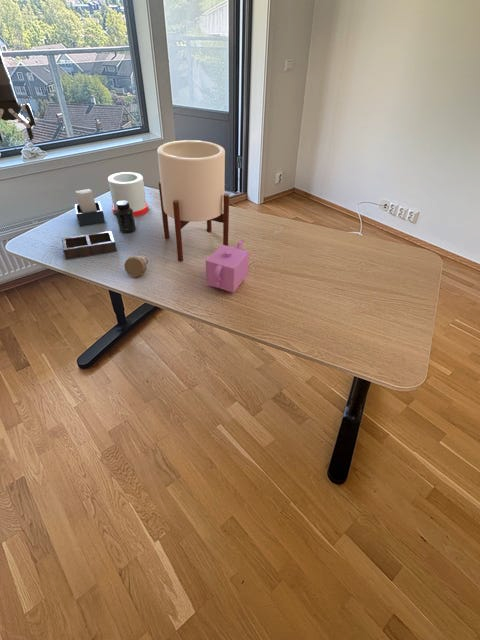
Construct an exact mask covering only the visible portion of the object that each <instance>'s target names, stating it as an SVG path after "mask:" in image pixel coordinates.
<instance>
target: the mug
mask: <svg viewBox="0 0 480 640" xmlns="http://www.w3.org/2000/svg"><path fill="white" fill-rule="evenodd" d="M148 264H149V259H148V257H147V256H145V255H132V256H130V257H128V258H127V259H126V260H125V262H124V264H123V265H124V266H123V267H124V270H125V272H126V274H127V275H129V276H130V277H133V278H138V277H141V276H143V275H144V274H145V272H146V270H147V265H148Z"/></svg>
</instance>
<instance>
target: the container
mask: <svg viewBox="0 0 480 640" xmlns="http://www.w3.org/2000/svg"><path fill="white" fill-rule="evenodd" d="M107 182H108V186H109V191H110V196H111V200H112V201H111V202H112V205H111V207H112V213H113V214H114V215H115V216H116V210H117V202H119V201H128V202H129V205H130V208H131V209H132V210H133V214H134V218H135V217H137V218H138V217H141V216H143V215H145V214H146V213H148V212H149V204H148V202H147V197H146V190H145V183H144V177H143V175H142V174H140V173H138V172H133V171H121V172H116V173H112V174H110V175H109V176H108V177H107Z"/></svg>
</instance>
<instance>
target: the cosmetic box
mask: <svg viewBox="0 0 480 640" xmlns="http://www.w3.org/2000/svg"><path fill="white" fill-rule="evenodd" d="M75 196H76V200H77V202H78V204H79V206H80V209H81V213H85V212H93V211H97V208H96V205H95V202H96V201H95V197H94V194H93V191H92V189H90V188H86V189H81V190H75Z"/></svg>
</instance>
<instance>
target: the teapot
mask: <svg viewBox="0 0 480 640" xmlns="http://www.w3.org/2000/svg"><path fill="white" fill-rule="evenodd" d="M243 245H244V240H243V239H241V240H239V241H238V242H237V245H236V247H233V246H230V245H228V246H226V245H223V244H221V245H220V246H219V247H218V248H217V249H216V250H215V251H214V252H213V253H212V254H211V255H210V256H208V258H207V259H205V284H206V285H207V286H211V287H212V288H217V289H220V290H225V291H227V292H228V293H235V292H236V290H237V289H238V288H239V287H240V285H241V284H242V283H243V282H244V281H245V279H246V278H247V276H248V275H249V263H250V251H249V250H244V249H242V248H243Z"/></svg>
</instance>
